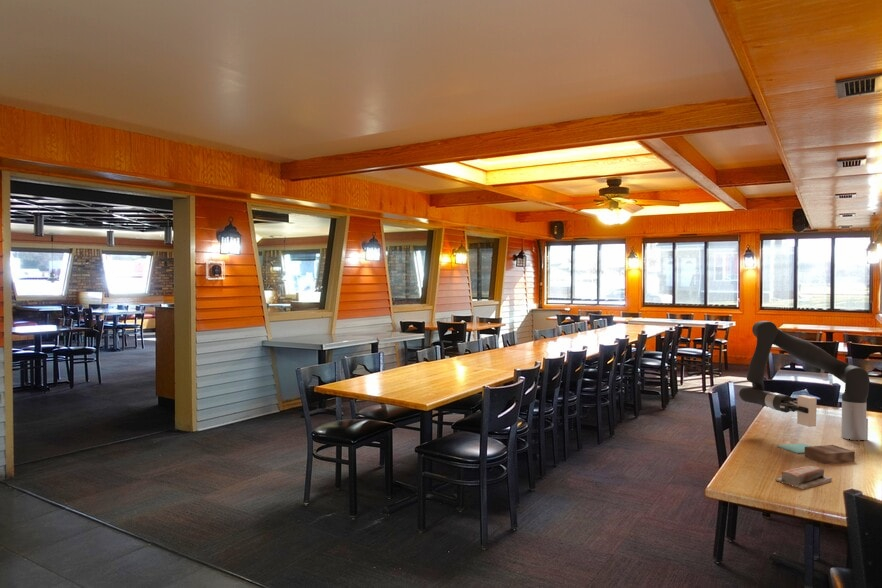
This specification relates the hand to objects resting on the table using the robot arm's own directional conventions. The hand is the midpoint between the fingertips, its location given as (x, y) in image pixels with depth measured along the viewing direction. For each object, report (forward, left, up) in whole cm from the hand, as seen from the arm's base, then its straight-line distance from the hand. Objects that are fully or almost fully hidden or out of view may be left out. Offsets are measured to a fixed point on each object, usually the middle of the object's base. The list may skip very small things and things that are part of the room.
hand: (811, 410), depth 242 cm
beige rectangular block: (0, -2, -7) cm, 7 cm away
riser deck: (0, +9, -18) cm, 20 cm away
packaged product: (+32, +28, -19) cm, 46 cm away
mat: (0, -5, -18) cm, 19 cm away
